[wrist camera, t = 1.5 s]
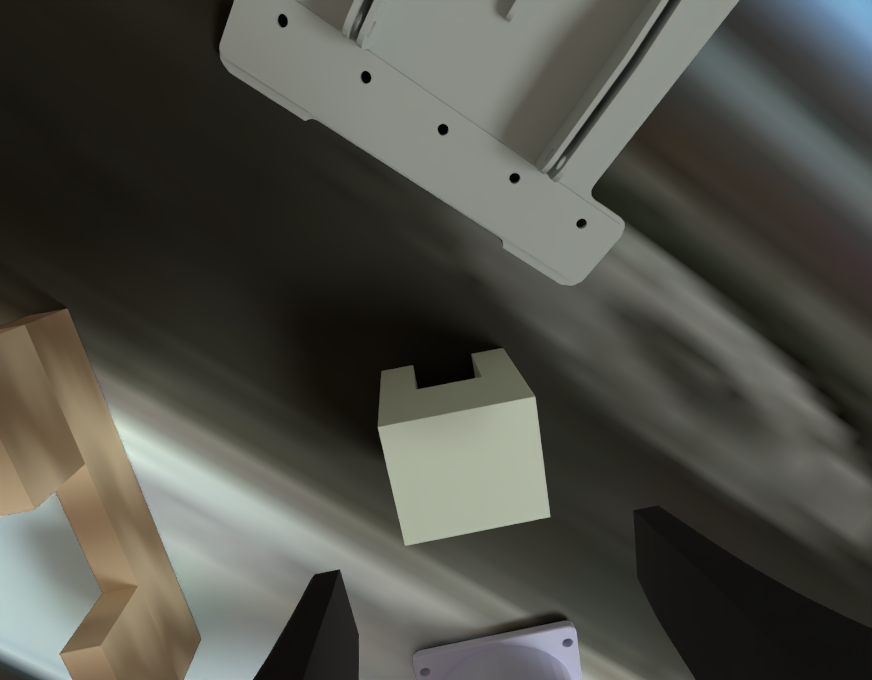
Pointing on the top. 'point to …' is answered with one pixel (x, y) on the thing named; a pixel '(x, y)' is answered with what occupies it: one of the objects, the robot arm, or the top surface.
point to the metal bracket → (482, 98)
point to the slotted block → (462, 450)
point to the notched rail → (89, 503)
